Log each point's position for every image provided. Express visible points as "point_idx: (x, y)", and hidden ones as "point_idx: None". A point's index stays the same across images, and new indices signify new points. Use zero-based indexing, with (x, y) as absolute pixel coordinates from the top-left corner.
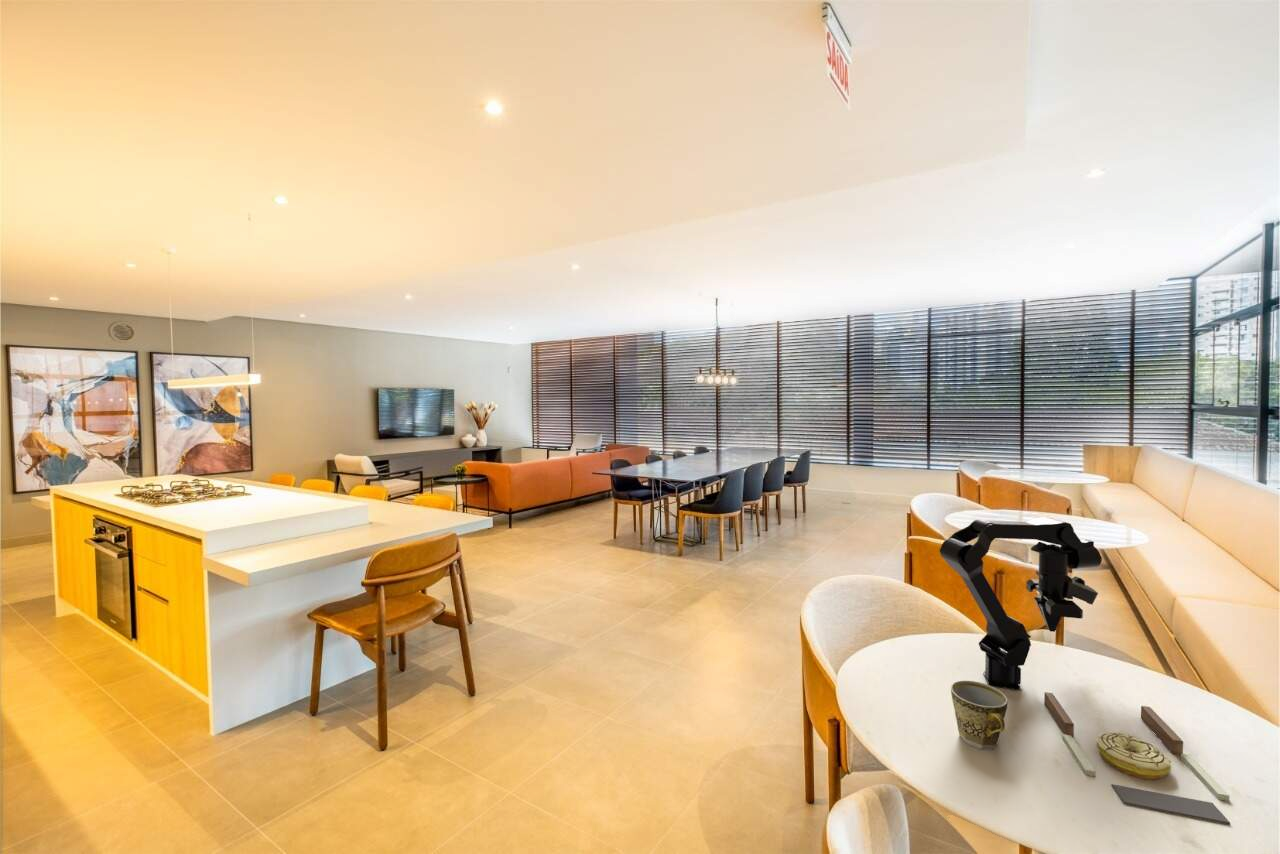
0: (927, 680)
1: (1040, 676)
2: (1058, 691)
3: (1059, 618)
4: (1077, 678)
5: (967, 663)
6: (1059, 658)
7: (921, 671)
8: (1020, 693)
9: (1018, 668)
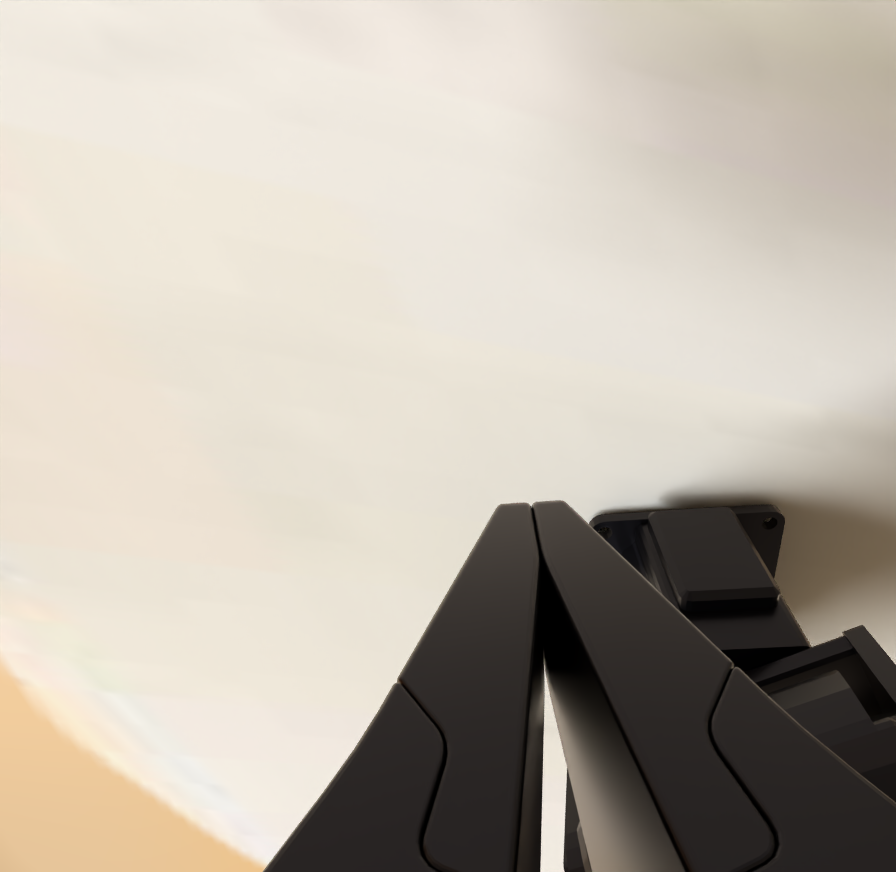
0: None
1: (501, 340)
2: (729, 266)
3: (805, 754)
4: (416, 31)
5: None
6: (16, 93)
7: None
8: (810, 506)
9: (777, 601)
